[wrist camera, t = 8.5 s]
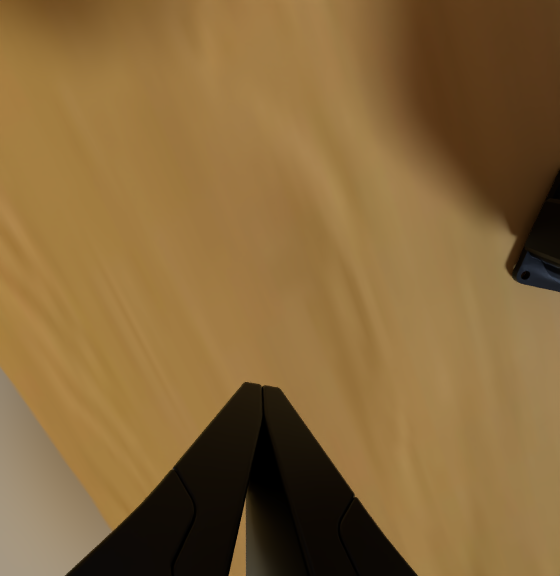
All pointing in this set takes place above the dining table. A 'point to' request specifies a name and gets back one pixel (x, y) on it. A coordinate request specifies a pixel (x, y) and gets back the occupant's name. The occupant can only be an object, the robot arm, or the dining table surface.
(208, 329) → the dining table surface
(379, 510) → the dining table surface
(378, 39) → the dining table surface
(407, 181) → the dining table surface
